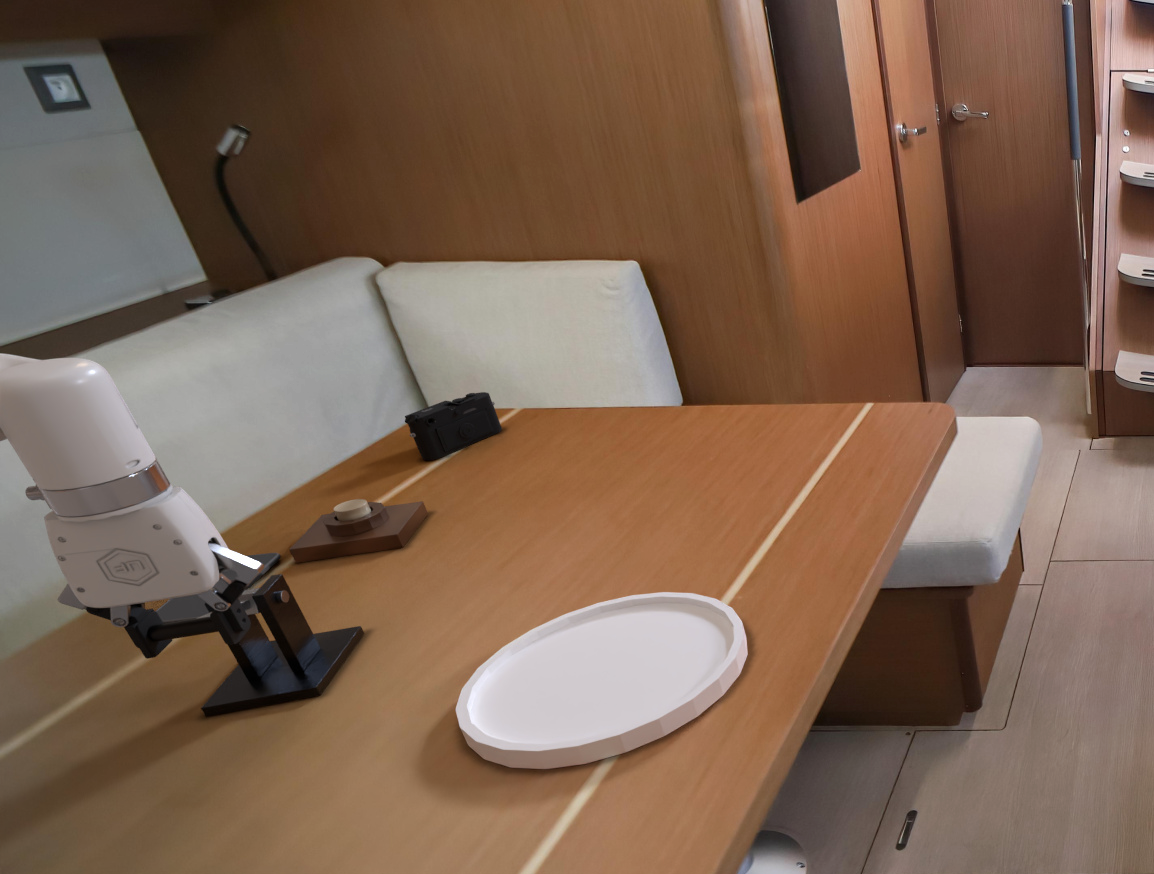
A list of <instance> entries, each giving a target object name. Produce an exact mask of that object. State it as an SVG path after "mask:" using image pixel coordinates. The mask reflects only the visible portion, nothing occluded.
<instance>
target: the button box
mask: <svg viewBox="0 0 1154 874" xmlns="http://www.w3.org/2000/svg"><path fill="white" fill-rule="evenodd" d="M367 503H368V505H369V507H370V509H371V513H369V514H367V515H365V516H363V517H361V518H357V519H354V520H347V521H339V520H338V519H337V517H336V514H335V512H334V511H332V512H330V513H325V514H321V515H320V516H319V517H318V518H317V520H315V522H313V524H312V525H311V526H310V527H309V528H308V529H307V530H306V531H305V532H304V533H303V534H302V535H301V536H300V538H298V540H296V542H295V543H294V544H293V545H292V546H291V547H290V548H289V549H288V551H289V552H290V555H291V557H292V559H293V560H294V563H296V564H299V563H305V562H312V561H319V560H326V559H332V558H341V557H346V556H353V555H360V554H367V553H373V552H382V551H387V550H394V549H395V550H396V549H402V548H404V547H405V545H406V544H407V543H408V542H409V540H410V539H411V537H412V536H413V535H414V534H415V532H416V531H417V530H418V528H419V527H420V525H421V524H422V523H423V522H424V520H425V519H426V517H428V515H429V511H428V510H427V507H426V505H425V503H424V501H421V500H420V501H415V502H407V503H402V504H401V503H399V504H393V505H384V504H383V503H382V502H377V501H376V502H375V501H367Z"/></svg>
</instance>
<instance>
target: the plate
mask: <svg viewBox="0 0 1154 874" xmlns="http://www.w3.org/2000/svg"><path fill="white" fill-rule="evenodd" d="M747 639H748V638H747V634H746V630H745V627H744V623H743V621H742V619H741V618H740V617H739V615H738V614H737V612H736V611H735V609H734V608H733V607H731V606H729V605H728V604H726V603H724V602H723V601H721V600H719V599H717V598H715V597H710V596H706V595H702V594H698V593H695V592H674V591H673V592H672V591H660V592H651V593H642V594H633V595H632V594H631V595H627V596H622V597H619V598H613V599H609V600H605V601H600V602H596V603H594V604H591V605H588V606H586V607H582V608H579V609H576V610H573V611H569V612H567V613H565V614H562V615H560V616H557V617H555V618H553V619H551V620H549V621H546V622H544V623H543V624H540V625H538V626H536V627H534V628H532V629H531V628H530V630H528V631H526V632H525V633H523V634H522V635H520V636H519V637H517V638H515V639H514V640H512V641H511V642H509V643H507V644H506V645H504V646H501V648H500V649H499V650H497V651H496V652H495V653H493V655H491V656H490V657H489V658H488V659H487V660H485V661H484V662H483V663H482V664H480V666H478V667H477V668H476V670H475V671H474V672H473V674H472V675H471V676H470V678H468V680H467V681H466V682H465V684H464V685H463V687H462V688H461V691H460V694H459V696H458V700H457V703H456V706H455V709H454V710H455V713H456V717H457V721H458V726H459V729H460V731H461V733H462V734H463V737H464V739H465V742H466V744H467V746H468V747H469V748H470V749H472V750H473V751H474V752H475V753H476V754H478V756H480V757H481V758H482V759H483V760H485V761H487V762H488V761H489V762H492V763H495V764H498V765H500V766H501V765H502V766H505V767H507V768H511V769H531V770H532V769H533V770H534V769H535V770H550V769H556V768H564V767H572V766H578V765H579V766H580V765H586V764H590V763H593V762H597V761H600V760H604V759H608V758H612V757H615V756H618V755H622V754H626V753H628V752H630V751H633V750H635V749H637V748H639V747H641V746H645V745H647V744H649V743H652V742H654V741H656V740H658V739H661V738H663V737H665V736H667V735H669V734H671V733H672V732H674V731H676V730H677V729H679V728H680V727H682V726H684V725H686V724H687V723H689V722H691V721H693V720H695V719H696V718H697V717H699V716H700V715H701V714H703V713H704V712H705V711H706V710H708V708H710V707H711V706H712V705H713V704H715V703H716V702H717V701H718V700H719V699H721V698H722V697H724V695H725V694H726V693H727V691H728V690H729V689H730V688H731V687H732V685H733V684H734V683H735V681H736V680H737V679H738V678H739V676H740V675H741V674H742V670H743V668H744V665H745V663H746V660H747V658H748V654H749V653H748V642H747V641H748V640H747Z"/></svg>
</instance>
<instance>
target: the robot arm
mask: <svg viewBox="0 0 1154 874" xmlns="http://www.w3.org/2000/svg"><path fill="white" fill-rule="evenodd" d="M3 441H8V442H9V443H10V445H11V447H12V448H13V451H14V452H15V453H16V455H17V457H18V458H19V459H20V462H21V463H22V464H23V466H24V468H25V470H26V472H28V474H29V476H30V477H31V479H32V480H33V482H34V484H35V485H30V486H27V487H26V489H25V496H26V498H27V499H28V500H30V501H40V500H41V501H45V503H46V505H47V506H48V508H49V509H50V510H51V511H50V512H48V513H47V514H45V515H44V518H43V519H44V524H45V530H46V534H47V537H48V541H49V545H50V547H51V550H52V553H53V555H54V557H55V560H56V562H57V565H58V567H59V568H60V571H61V572H62V575H63V577H64V578H65V581H66V583H67V584H66V585H65V587H64V588H63V590H62V591H61V592H60V594H59V596H58V597H57V601H58V603H60V604H62V605H65V606H68V607H71V608H75V609H78V610H80V611H81V610H82V611H84V610H86V612H87V613H88V614H90V615H94V616H96V617H99V618H102V619H105V620H108V621H110V623H111V625H112V626H114V627H116V628H124V630H125V632H126V633H127V635H128V636H129V638H130V639H131V641H132V643H133V644H134V646H135V647H136V648H137V649H139V651H140V652H141V654H142V655H143V657H144V658H145V659H146V660H147V659H153V658H156V657H158V656H159V655H160V654H161V653H162V652H163V651H164V650H165V649H166V648H167V647H168V646H169V645H170V644H171V643H173V639H170V640H164V641H158V642H153V641H151V640H150V639H149V637H148V629H149V628H150V627H151V626H153V625H159V624H164V623H163V622H162V620H161V618H160V617H159V615H158V613H157V612H156V610H154V608H148V609H146V603H150V602H151V603H152V602H157V601H163V600H170V599H171V598H177V597H183V596H189V595H195V594H196V595H197V596H198V597H200V598H201V599H202V600H203V601H205V602H206V603H207V604H208V605H210V606H211V607H212V608H213V609H214V611H213V612H212V613H211V614H210V618H211V619H212V621H213V623H214V625H215V626H216V628H217V630H218V631H219V632H218V634H219V635H220V637H221V638H222V640H223V642H224V644H225V645H227V644H228V645H232V644H237V643H238V642H239V641H240V639H241V638H242V637H243V636H244V635H245V634H246V633H247V632H248V631H249V629H250V625H251V621H250V619H249V617H248V615H247V614H246V612H245V610H244V608H243V606H242V605H241V603H240V601H239V599H238V598H239V597H240V596H241V595H242V593H243V592H244V591H245V589H246V588H247V587H248V586H249V584H250V583H251V582H252V581H253V580H254V579H255V578H256V577H257V575H258V574H259V573H260V572H261V571H262V570H263V569H264V564H262V563H261V562H258V561H256V560H253V559H251V558H249V557H246V556H247V555H244V554H242V553H239V552H237V551H234V550H232V549H230V548H229V546H228V545H227V543H226V542H225V540H224V538H223V537H222V535H221V533H220V532H219V531H218V529H217V528H216V526H215V525H214V524H213V522H212V521H211V519H210V518H209V517H208V515H207V514H206V513H205V512H204V511H203V509H202V508H201V506H199V504H198V503H197V502H196V501H195V500H194V499H193V498H192V497H191V496H190V495H189V494H188V493H187V492H186V491H185V490H184V489H183V488H182V487H181V486H180V485H179V486H172V484H171V482H170V480H169V479H168V476H167V474H166V473H165V471H164V469H163V468H162V466H161V464H160V462H159V461H158V458H157V457H156V454H155V453H154V452H153V450H152V447H151V446H150V444H149V443H148V440H147V439H146V437H145V435H144V433H143V431H142V429H141V428H140V426H139V425H138V423H137V421H136V418H135V417H134V416H133V414H132V412H131V409H130V408H129V406H128V405H127V403H126V401H125V399H124V398H123V395H122V394H121V392H120V390H119V388H118V387H117V385H116V383H115V382H114V380H113V377H112V376H111V374H110V373H109V372H108V370H107V369H106V368H105V367H104V366H103V365H101V364H100V363H99V362H96V361H94V360H92V359H88V358H84V357H83V358H82V357H57V358H49V359H48V358H47V359H39V358H38V359H37V358H33V357H26V356H21V355H16V354H9V353H1V352H0V442H3ZM228 570H231V571H234V572H235V573H236V574H237V576H236V578H235V579H234V580H233V581H231V580H229V579H228V578H227V577H226V576H225V575H223V574H222V572H225V571H228ZM213 587H214V588H215V589H217V590H218V591H219V592H220V593H222V594H220V593H219V592H218V591H217V590H215V589H214V588H213ZM228 645H227V646H228Z"/></svg>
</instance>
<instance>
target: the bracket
mask: <svg viewBox="0 0 1154 874" xmlns="http://www.w3.org/2000/svg"><path fill="white" fill-rule="evenodd" d="M258 588H259V589H258V590H257V591H256V593H255V594H254V595H253V596H252V598H253V600H254V602H255V603H256V605H257V607H258V609H259V611H260V613H259V614H260V615H261V616H262V618H263V620H264V623H265V624H266V626H267V628H268V629H269V631H270V633H271V635H272V637H273V639H274V640H270V639H269V637H268V635H267V633H266V631H265V629H264V628H263V626H262V624H261V622H260V620H259V619H258V617H257V614H252V615H248V617H249V619H250V621H251V625H250V629H249V631H248V632H247V633H246V634H245V635H244V636H243V637H242V638H241V639H240V641H239V642H238V643H237V644H232V645H228V644H226V645H227V646H228V648H229V650H230V652H231V653H232V656H233V657H234V659H235V661H236V662H237V666H236V667H235V668H234V669H233V670H232V671H231V672H230V673H229V675H228V676H227V677H226V678H225V679H224V681H223V682H222V683H221V684H220V685H219V686H218V687H217V689H216V690H215V691H214V692H213V693H212V695H210V697H209V698H208V699H207V700H206V701H205V702H204V703H203V705H202V706H201V707H200V711H202V713H203V715H204V716H205V717H210V716H211V717H212V716H216V715H222V714H227V713H228V714H229V713H232V712H238V711H243V710H248V709H254V708H259V707H260V708H261V707H265V706H271V705H277V704H281V703H286V702H292V701H298V700H303V699H309V698H313V697H314V698H315V697H320V696H321V695H322V694H323V693H324V691H325V690H326V689H327V687H328V686H329V684H330V683H331V681H332V680H333V679H334V677H335V676H336V675H337V673H338V672H339V670H340V669H341V667H342V666H343V665H344V663H345V662H346V660H347V659H348V657H349V656H350V655H351V653H352V652H353V651H354V650H355V648H356V647H357V645H358V644H359V642H360V641H361V639H362V638H363V637H364V635H365V631H364V629H363V627H362V625H358V626H357V625H356V626H352V627H346V628H339V629H334V630H327V631H321V632H315V633H314V632H313V631H312V629H311V627H310V625H309V622H308V621H307V619H306V617H305V615H304V613H303V612H302V610H301V607H300V606H299V603H298V602H297V600H296V598H295V596H294V594H293V592H292V590H291V588H290V587H289V584H288V582H287V580H286V579H285V576H284V574H283V573H278V574H272V575H270V577H268V578H267V580H266V581H265V582H264V583H263V584H262V585H261V586H260V587H258ZM218 592H219V591H218ZM219 593H220V592H219ZM220 594H222V593H220ZM204 605H205V606H206V608H207V610H208V612H209V613H210V612H213V611H214V609H213V608H212V607H211V606H210V605H208V604H207V603H205V604H204Z"/></svg>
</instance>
